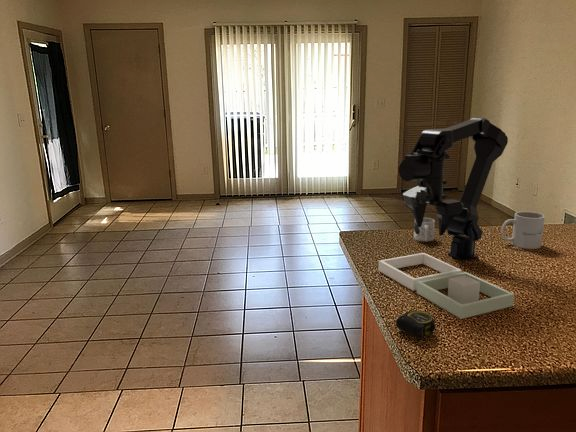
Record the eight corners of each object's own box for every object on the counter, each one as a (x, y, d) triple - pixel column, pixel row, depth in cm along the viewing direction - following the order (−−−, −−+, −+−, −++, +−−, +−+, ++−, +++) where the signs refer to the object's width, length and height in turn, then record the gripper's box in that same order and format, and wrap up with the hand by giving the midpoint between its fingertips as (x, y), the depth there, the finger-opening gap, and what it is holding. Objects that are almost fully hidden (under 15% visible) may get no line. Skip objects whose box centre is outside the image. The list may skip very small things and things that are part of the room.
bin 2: (464, 282, 126) (465, 271, 125) (512, 305, 112) (514, 294, 111) (416, 292, 120) (417, 281, 119) (461, 318, 106) (462, 306, 105)
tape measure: (393, 331, 102) (394, 315, 101) (415, 322, 105) (416, 306, 104) (418, 344, 96) (419, 327, 95) (441, 334, 100) (442, 318, 99)
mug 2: (538, 241, 158) (541, 212, 156) (543, 249, 150) (547, 219, 148) (498, 238, 162) (501, 210, 159) (500, 246, 154) (504, 216, 151)
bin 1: (423, 262, 141) (423, 252, 140) (461, 280, 127) (461, 270, 126) (378, 270, 135) (378, 260, 134) (413, 290, 121) (413, 279, 120)
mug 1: (412, 235, 167) (413, 217, 165) (432, 236, 166) (433, 217, 164) (415, 244, 157) (416, 225, 156) (436, 245, 156) (438, 225, 155)
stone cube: (463, 294, 119) (464, 275, 118) (478, 301, 115) (480, 282, 113) (447, 297, 117) (448, 278, 116) (462, 305, 113) (463, 285, 112)
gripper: (387, 174, 136) (386, 226, 140) (432, 185, 119) (429, 244, 123) (419, 170, 140) (417, 221, 144) (466, 180, 124) (462, 238, 128)
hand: (429, 230), depth 135 cm, fingers open, 9 cm apart
